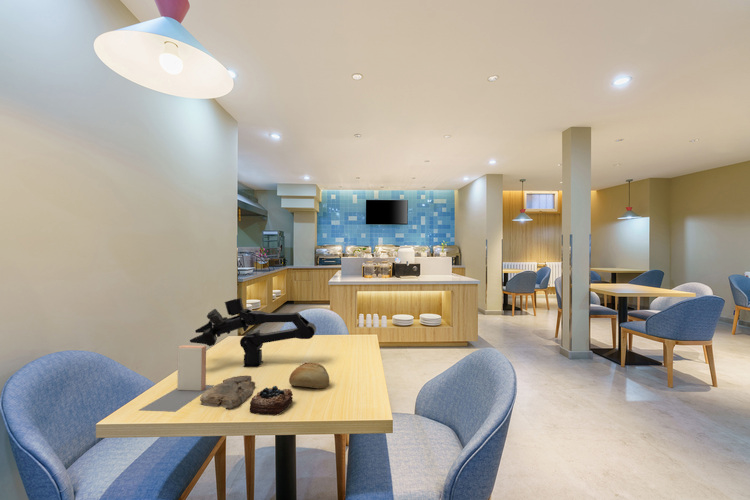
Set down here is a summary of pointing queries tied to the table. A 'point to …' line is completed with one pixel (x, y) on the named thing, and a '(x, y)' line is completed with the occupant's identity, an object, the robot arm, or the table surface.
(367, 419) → the table surface
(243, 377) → the flat grey rock
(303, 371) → the bread roll
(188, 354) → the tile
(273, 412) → the pastry
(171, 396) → the mat
